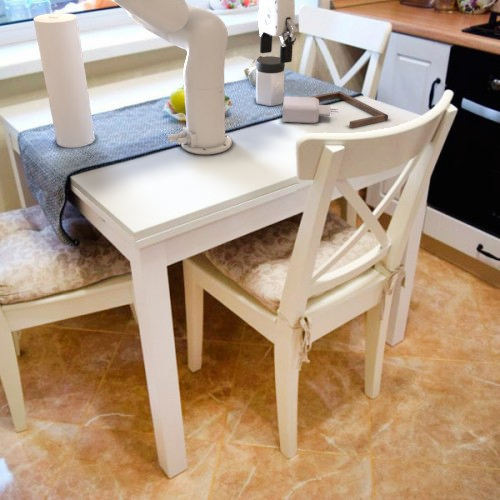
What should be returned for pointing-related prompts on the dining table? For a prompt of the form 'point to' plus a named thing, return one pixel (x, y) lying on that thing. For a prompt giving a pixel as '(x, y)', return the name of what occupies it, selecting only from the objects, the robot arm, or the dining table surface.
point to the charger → (304, 109)
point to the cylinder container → (65, 78)
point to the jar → (269, 81)
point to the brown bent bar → (377, 114)
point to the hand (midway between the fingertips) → (275, 57)
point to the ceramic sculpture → (252, 73)
